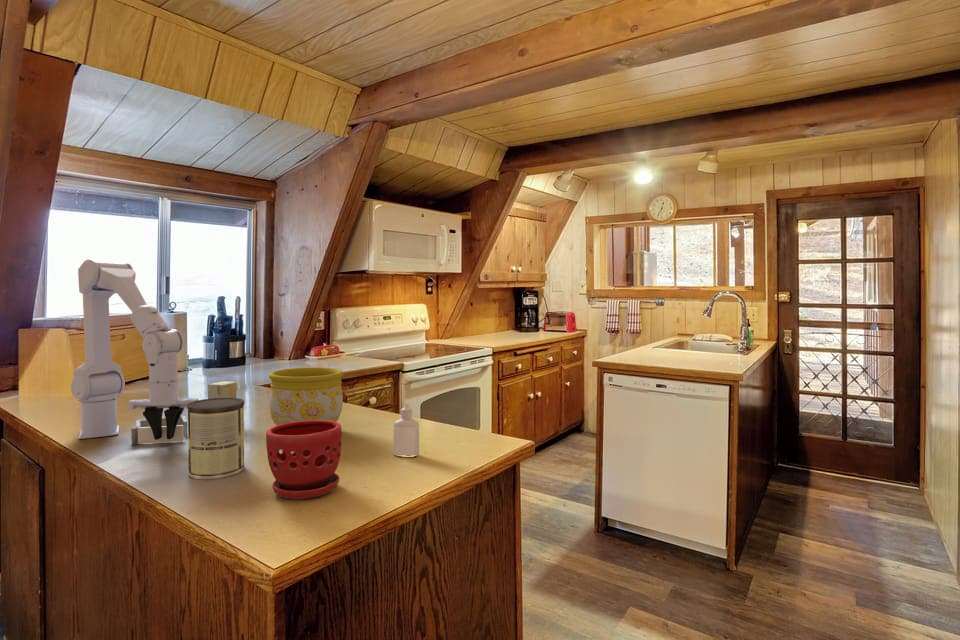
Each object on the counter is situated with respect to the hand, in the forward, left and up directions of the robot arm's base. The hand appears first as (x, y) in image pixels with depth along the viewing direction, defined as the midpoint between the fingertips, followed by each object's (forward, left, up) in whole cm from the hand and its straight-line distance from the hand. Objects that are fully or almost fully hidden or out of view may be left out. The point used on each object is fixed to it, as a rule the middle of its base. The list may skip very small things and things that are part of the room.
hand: (164, 438), depth 122 cm
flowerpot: (+9, +31, -2) cm, 32 cm away
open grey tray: (-9, 0, -2) cm, 9 cm away
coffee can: (+27, +8, -2) cm, 28 cm away
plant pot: (+47, +20, -2) cm, 51 cm away
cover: (-2, -1, -2) cm, 3 cm away
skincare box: (-10, +14, -2) cm, 17 cm away
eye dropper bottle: (+38, +45, -2) cm, 59 cm away
